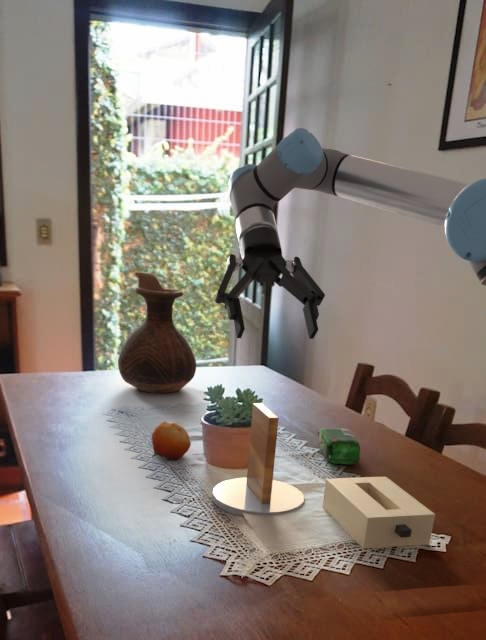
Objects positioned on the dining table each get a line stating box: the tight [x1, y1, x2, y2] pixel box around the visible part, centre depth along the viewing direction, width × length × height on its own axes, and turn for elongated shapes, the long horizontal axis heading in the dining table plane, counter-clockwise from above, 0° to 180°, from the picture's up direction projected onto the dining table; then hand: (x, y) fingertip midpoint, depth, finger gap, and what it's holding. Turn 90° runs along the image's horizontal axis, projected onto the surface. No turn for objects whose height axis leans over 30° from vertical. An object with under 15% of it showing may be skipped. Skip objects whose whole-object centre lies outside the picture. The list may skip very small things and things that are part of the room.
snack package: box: [317, 427, 361, 466], centre depth 143 cm, size 7×16×5 cm, turn 0°
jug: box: [117, 271, 197, 394], centre depth 186 cm, size 22×22×30 cm
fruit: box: [151, 421, 191, 461], centre depth 137 cm, size 8×8×8 cm
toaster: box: [322, 476, 436, 550], centre depth 108 cm, size 11×18×6 cm, turn 13°
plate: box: [211, 477, 305, 518], centre depth 119 cm, size 16×16×1 cm
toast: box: [246, 402, 280, 504], centre depth 116 cm, size 2×9×15 cm, turn 13°
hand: (277, 334), depth 120 cm, fingers open, 13 cm apart
